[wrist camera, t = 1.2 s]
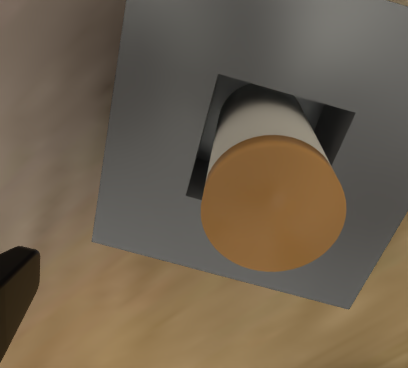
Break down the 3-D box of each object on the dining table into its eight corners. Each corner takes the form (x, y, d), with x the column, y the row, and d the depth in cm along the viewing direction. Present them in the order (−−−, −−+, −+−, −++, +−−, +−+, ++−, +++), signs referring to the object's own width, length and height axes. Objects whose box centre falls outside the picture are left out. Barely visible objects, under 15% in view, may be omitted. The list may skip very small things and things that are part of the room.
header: (437, 25, 16) (511, 36, 12) (327, 244, 22) (349, 309, 17) (166, -54, 16) (136, -73, 11) (123, 189, 21) (91, 241, 17)
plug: (316, 95, 17) (372, 171, 10) (286, 172, 19) (313, 285, 12) (231, 71, 17) (222, 129, 10) (208, 151, 19) (186, 252, 11)
